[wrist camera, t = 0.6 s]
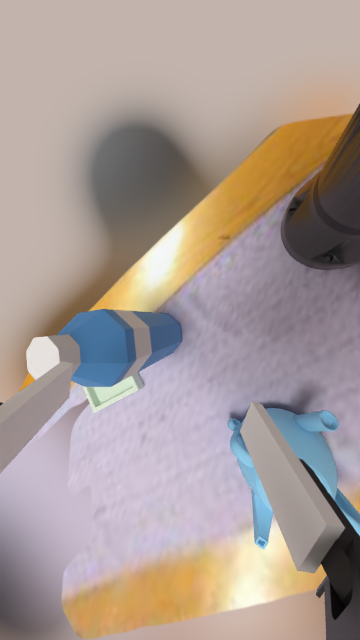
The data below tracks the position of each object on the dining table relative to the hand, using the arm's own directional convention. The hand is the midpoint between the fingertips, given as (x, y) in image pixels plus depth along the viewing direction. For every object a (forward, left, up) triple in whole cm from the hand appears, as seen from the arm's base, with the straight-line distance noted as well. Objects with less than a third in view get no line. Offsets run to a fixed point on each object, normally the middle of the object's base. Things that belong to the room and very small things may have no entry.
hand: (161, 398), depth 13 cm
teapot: (-2, +21, -24) cm, 32 cm away
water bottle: (+8, -7, -24) cm, 26 cm away
